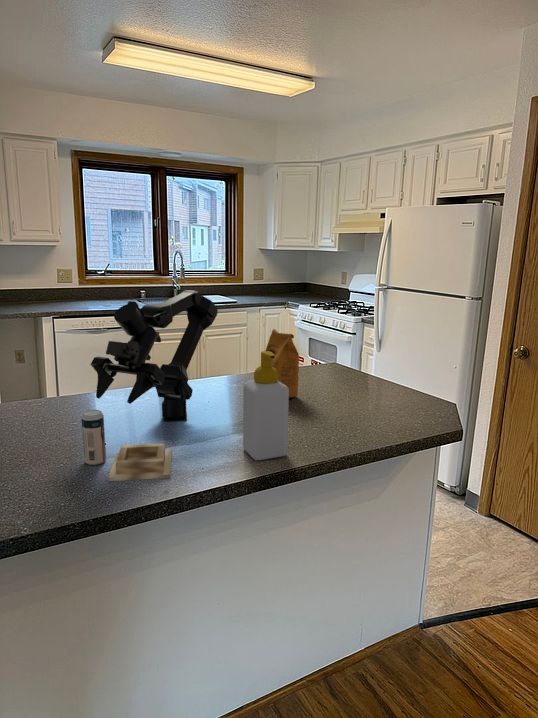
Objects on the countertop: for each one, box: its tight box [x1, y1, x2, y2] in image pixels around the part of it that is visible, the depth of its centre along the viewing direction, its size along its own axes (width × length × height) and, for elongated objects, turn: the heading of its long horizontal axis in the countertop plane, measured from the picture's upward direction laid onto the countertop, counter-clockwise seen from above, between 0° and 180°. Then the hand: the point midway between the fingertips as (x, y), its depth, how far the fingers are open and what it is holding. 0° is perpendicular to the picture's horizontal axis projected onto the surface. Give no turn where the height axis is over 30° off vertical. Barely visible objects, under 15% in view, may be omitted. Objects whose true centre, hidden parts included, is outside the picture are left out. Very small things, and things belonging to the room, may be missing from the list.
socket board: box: [107, 442, 173, 482], centre depth 114 cm, size 13×13×3 cm
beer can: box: [81, 409, 107, 466], centre depth 115 cm, size 5×5×12 cm
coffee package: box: [265, 328, 300, 399], centre depth 167 cm, size 10×12×22 cm
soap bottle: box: [242, 350, 290, 461], centre depth 120 cm, size 9×9×25 cm
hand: (112, 400), depth 120 cm, fingers open, 9 cm apart
